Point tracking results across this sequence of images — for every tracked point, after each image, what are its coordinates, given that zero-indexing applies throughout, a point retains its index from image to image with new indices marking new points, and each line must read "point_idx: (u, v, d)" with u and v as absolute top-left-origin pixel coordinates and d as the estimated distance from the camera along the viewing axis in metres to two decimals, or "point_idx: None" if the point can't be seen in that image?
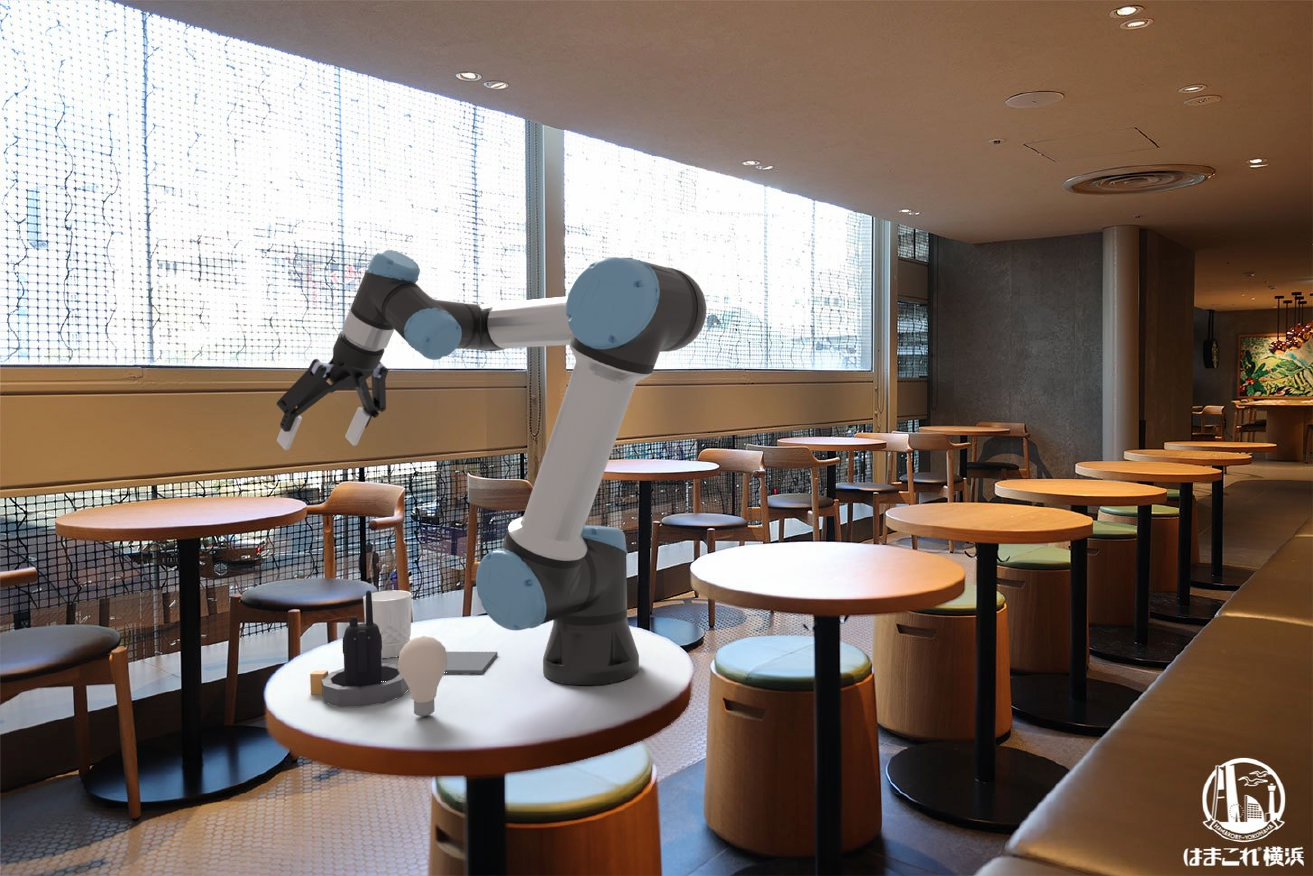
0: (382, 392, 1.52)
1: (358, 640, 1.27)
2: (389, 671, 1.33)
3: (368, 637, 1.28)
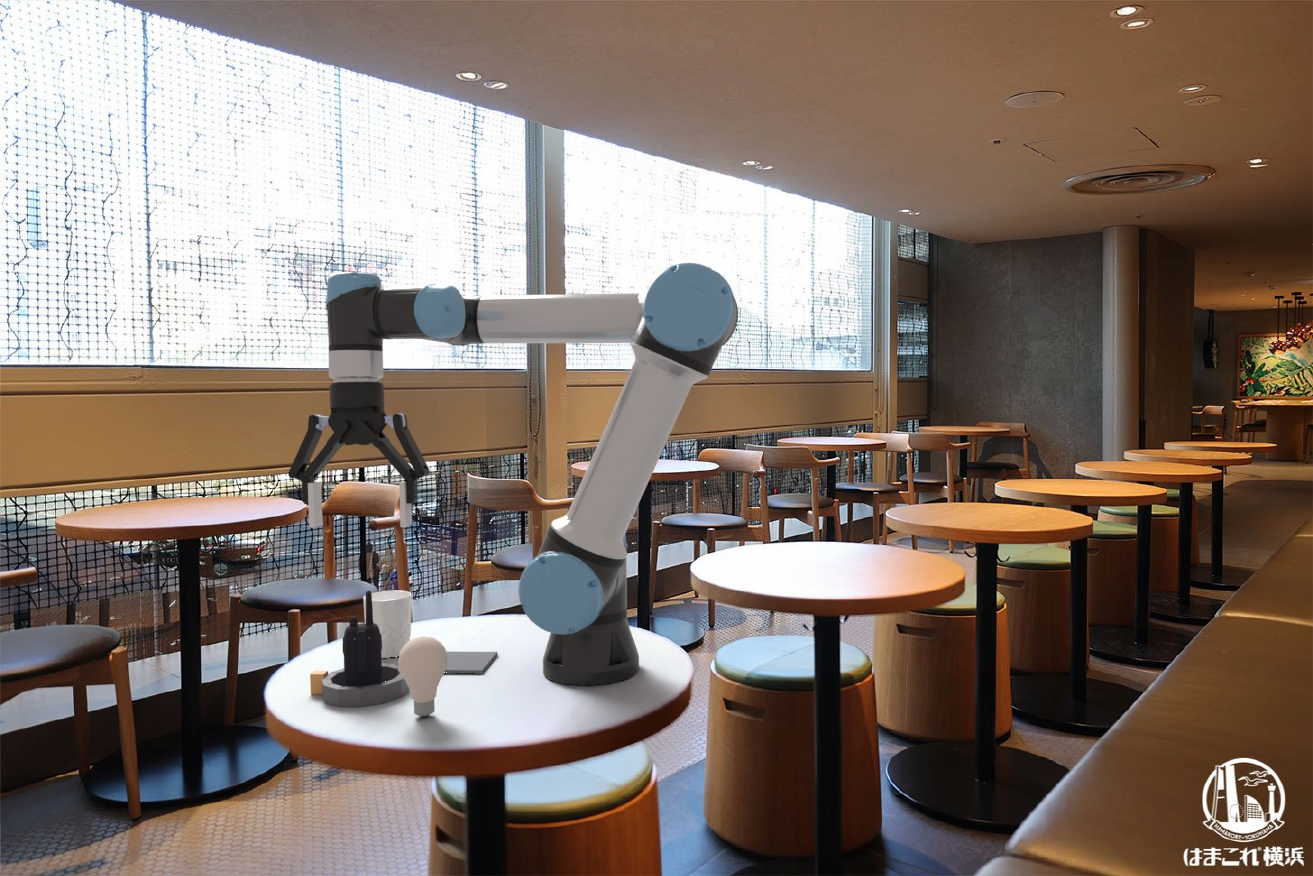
0: (406, 447, 1.26)
1: (358, 640, 1.27)
2: (389, 671, 1.33)
3: (368, 637, 1.28)
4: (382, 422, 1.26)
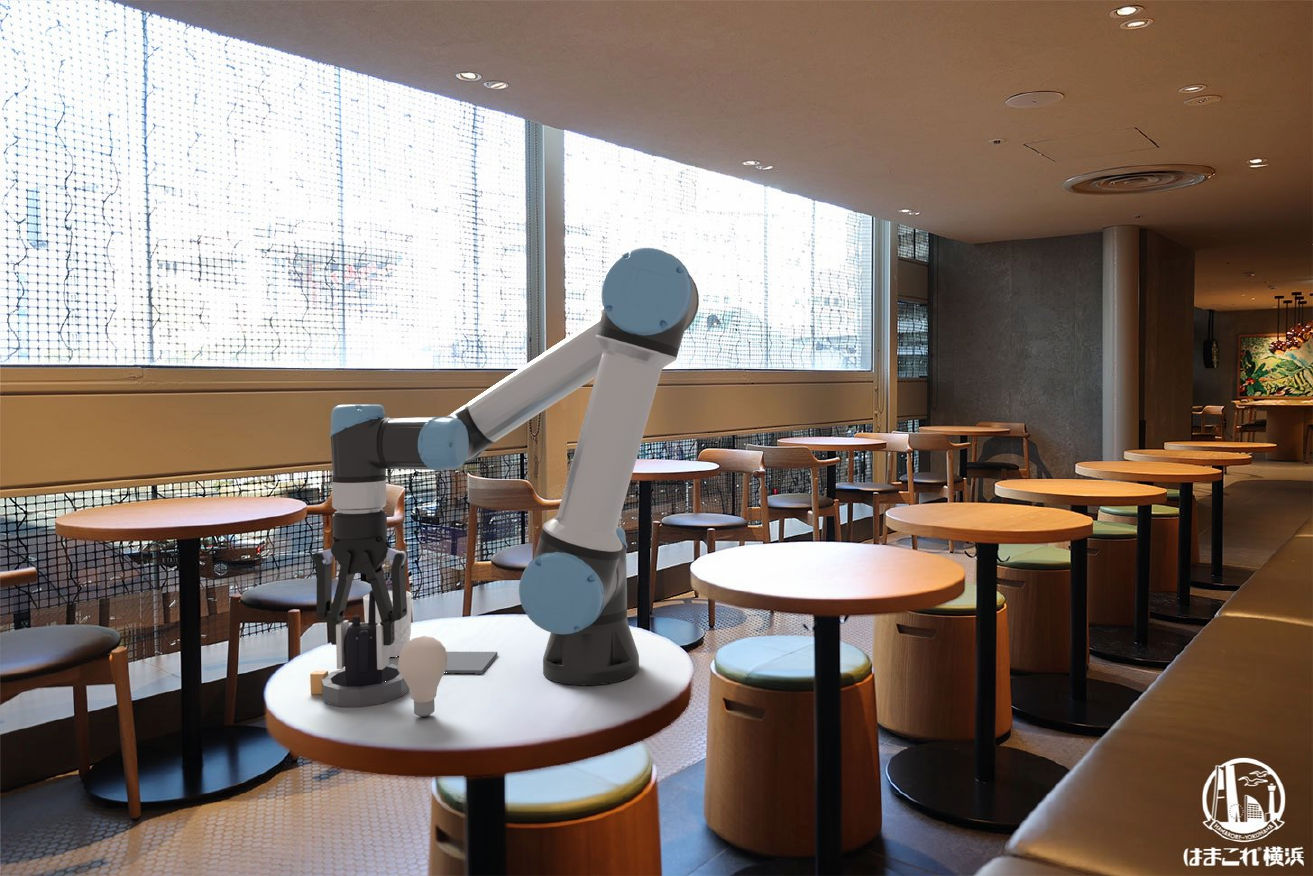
0: (395, 587, 1.27)
1: (360, 640, 1.27)
2: (389, 671, 1.33)
3: (370, 637, 1.28)
4: (385, 552, 1.27)
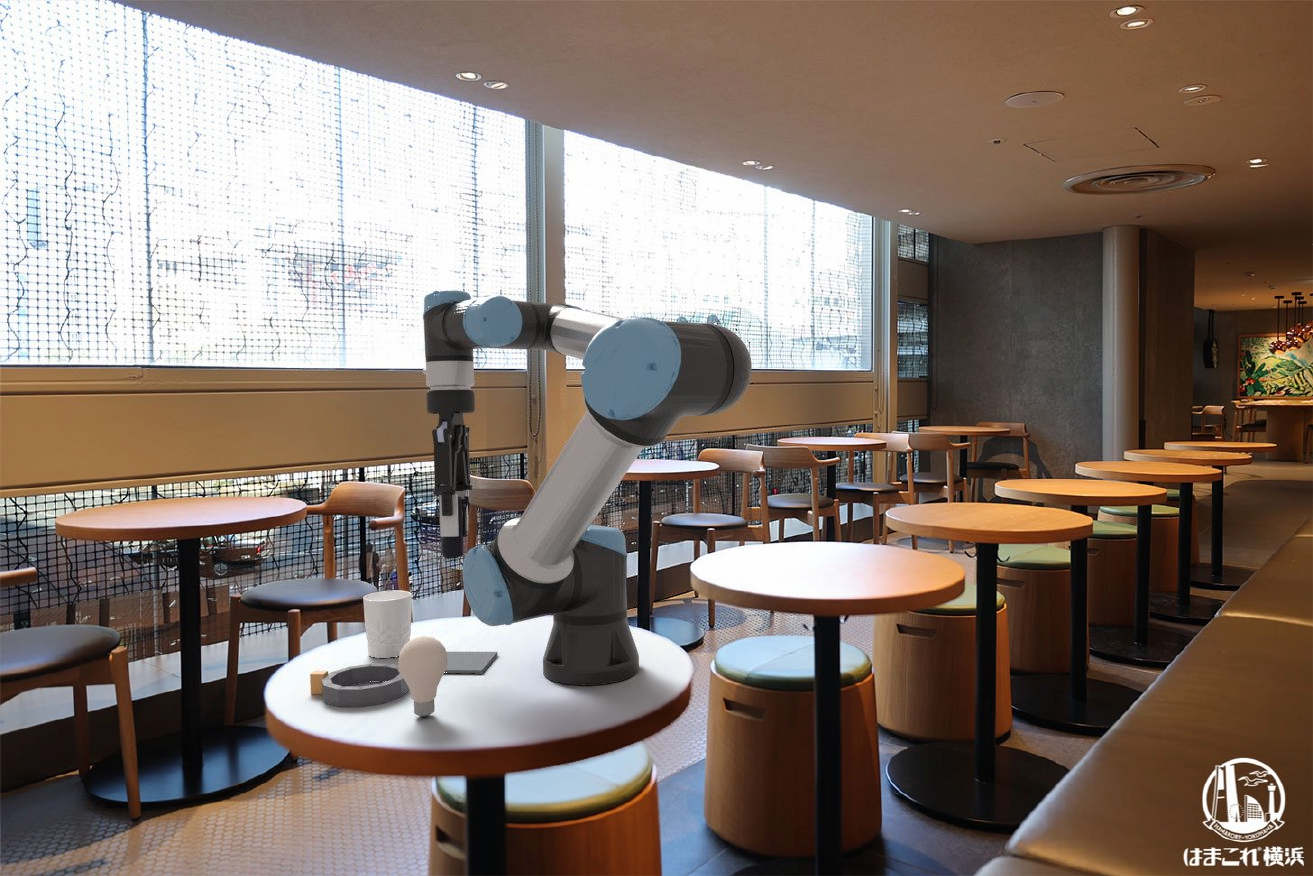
0: (468, 456, 1.46)
1: (467, 504, 1.41)
2: (389, 671, 1.33)
3: None
4: None
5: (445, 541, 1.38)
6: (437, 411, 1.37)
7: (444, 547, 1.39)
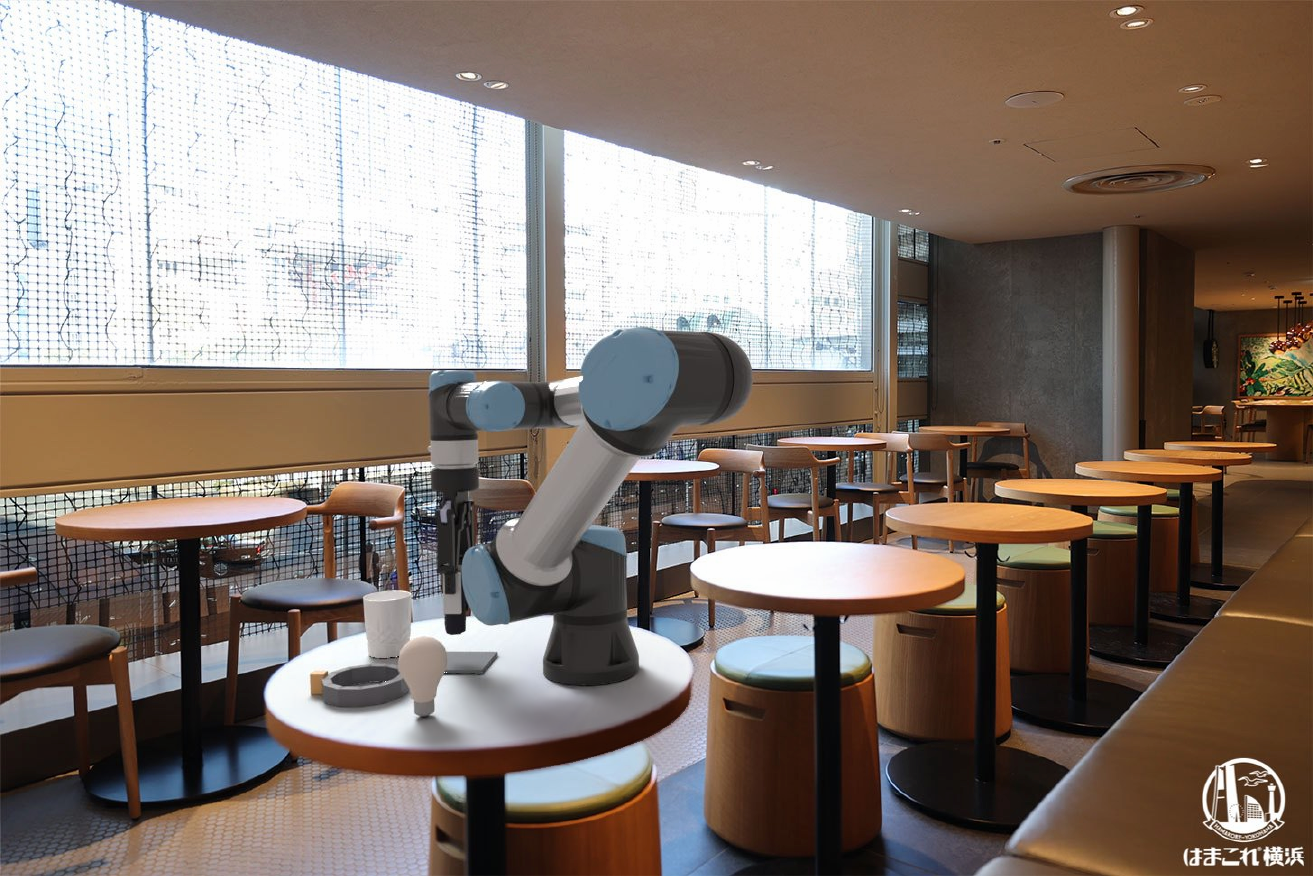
0: (472, 530, 1.47)
1: None
2: (389, 671, 1.33)
3: None
4: (467, 500, 1.45)
5: (448, 618, 1.40)
6: (441, 490, 1.38)
7: (447, 623, 1.40)
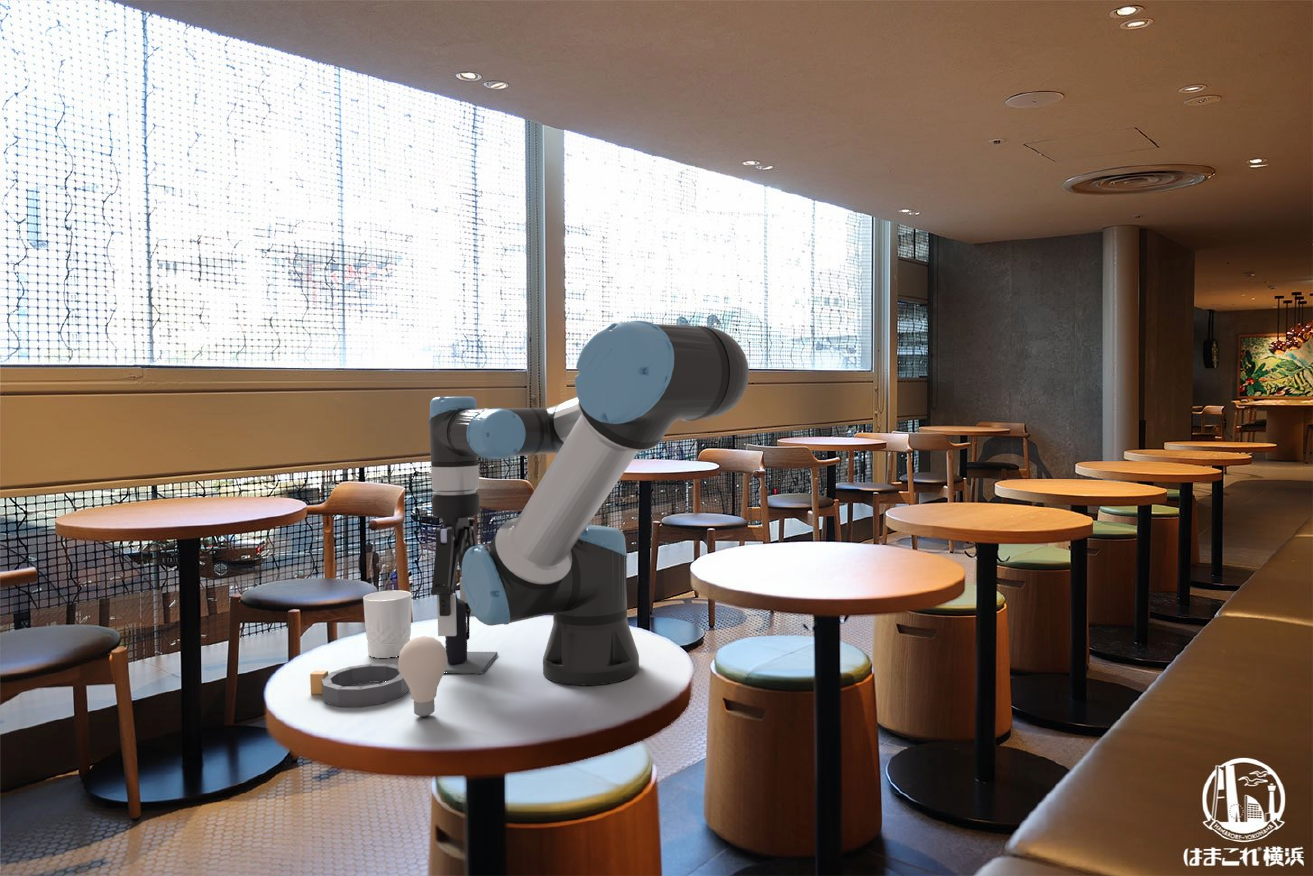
0: (476, 546, 1.49)
1: None
2: (389, 671, 1.33)
3: None
4: None
5: (449, 647, 1.40)
6: (442, 516, 1.38)
7: (448, 653, 1.40)
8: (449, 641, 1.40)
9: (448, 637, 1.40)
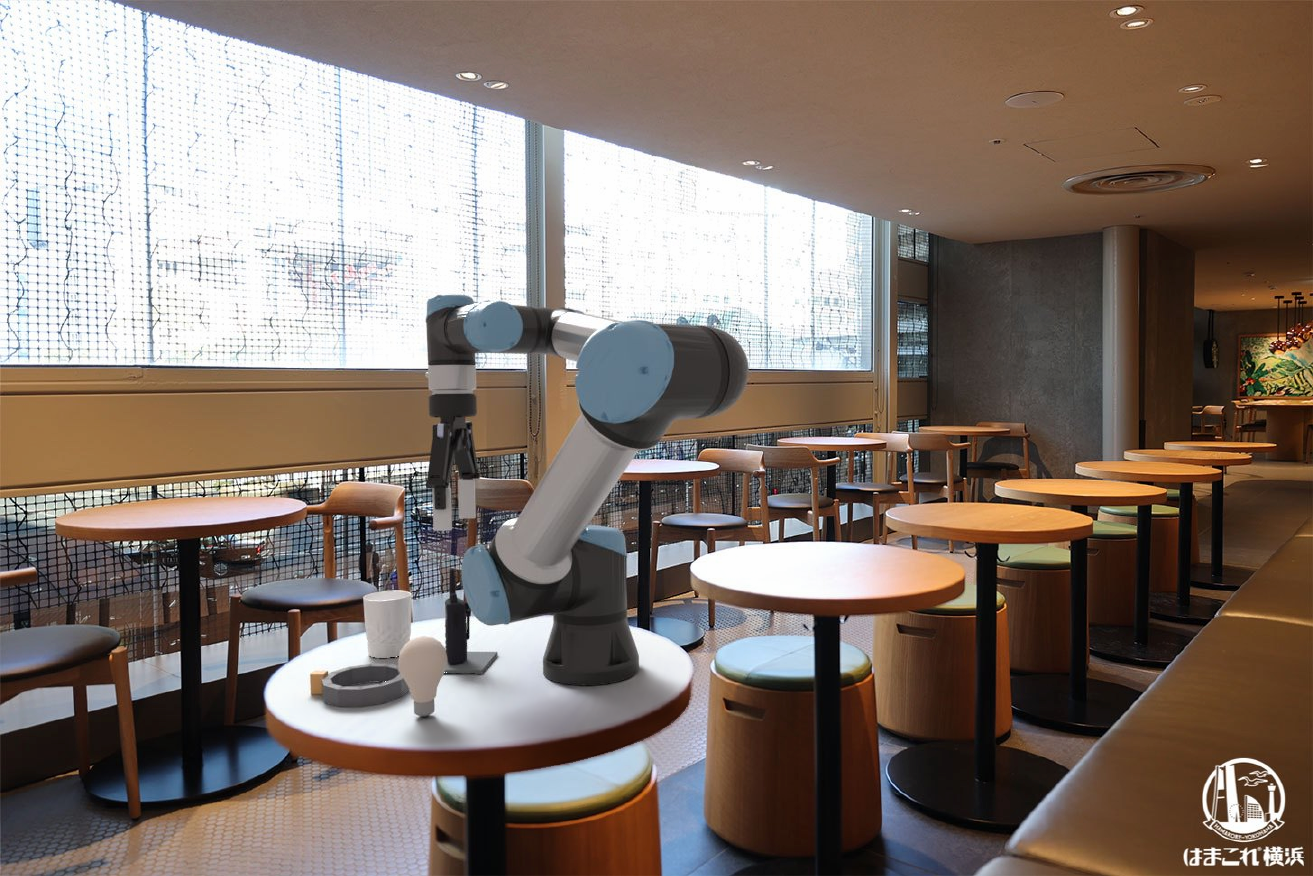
0: (473, 449, 1.48)
1: None
2: (389, 671, 1.33)
3: None
4: None
5: (449, 647, 1.40)
6: (439, 415, 1.37)
7: (448, 653, 1.40)
8: (449, 641, 1.40)
9: (448, 637, 1.40)
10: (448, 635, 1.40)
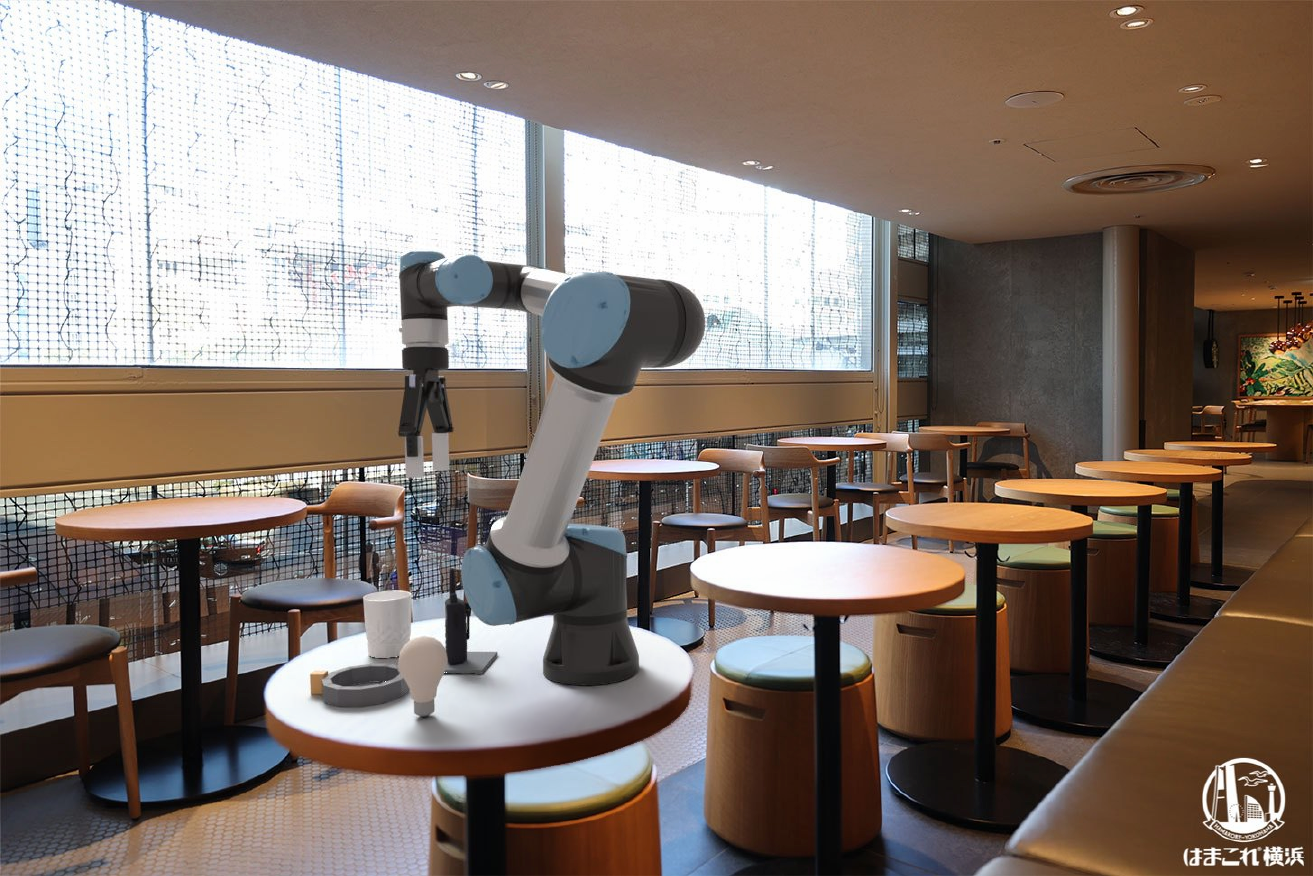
0: (447, 404, 1.53)
1: None
2: (389, 671, 1.33)
3: None
4: None
5: (449, 647, 1.40)
6: (411, 367, 1.42)
7: (448, 653, 1.40)
8: (449, 641, 1.40)
9: (448, 637, 1.40)
10: (448, 635, 1.40)
